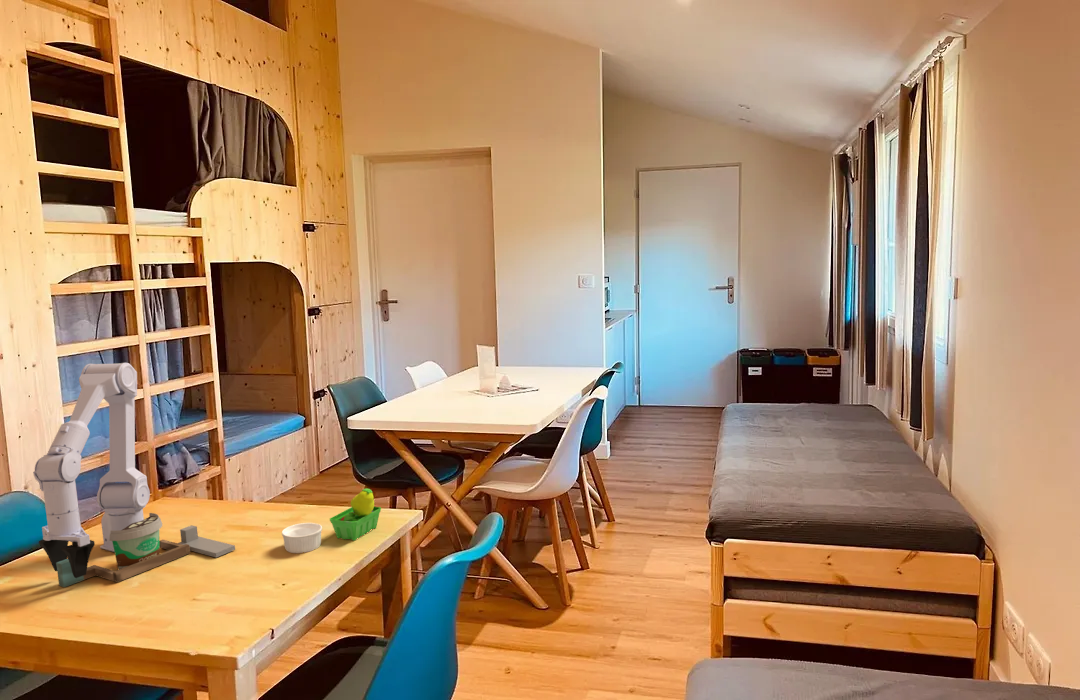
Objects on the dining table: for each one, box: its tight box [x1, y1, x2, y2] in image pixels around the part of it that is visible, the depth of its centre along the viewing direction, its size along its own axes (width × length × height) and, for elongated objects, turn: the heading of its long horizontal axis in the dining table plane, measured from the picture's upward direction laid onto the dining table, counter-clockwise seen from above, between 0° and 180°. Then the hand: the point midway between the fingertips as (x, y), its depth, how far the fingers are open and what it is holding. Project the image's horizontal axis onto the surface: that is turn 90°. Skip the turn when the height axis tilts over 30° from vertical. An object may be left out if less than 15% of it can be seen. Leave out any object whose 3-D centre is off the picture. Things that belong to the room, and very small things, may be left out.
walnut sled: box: [56, 539, 191, 588], centre depth 165 cm, size 10×24×5 cm, turn 150°
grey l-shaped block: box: [177, 525, 236, 558], centre depth 175 cm, size 14×5×4 cm, turn 60°
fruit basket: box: [329, 488, 382, 541], centre depth 181 cm, size 11×9×11 cm
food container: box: [109, 512, 163, 570], centre depth 166 cm, size 12×6×10 cm, turn 166°
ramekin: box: [281, 522, 323, 554], centre depth 174 cm, size 9×9×4 cm
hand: (70, 572), depth 158 cm, fingers open, 7 cm apart
